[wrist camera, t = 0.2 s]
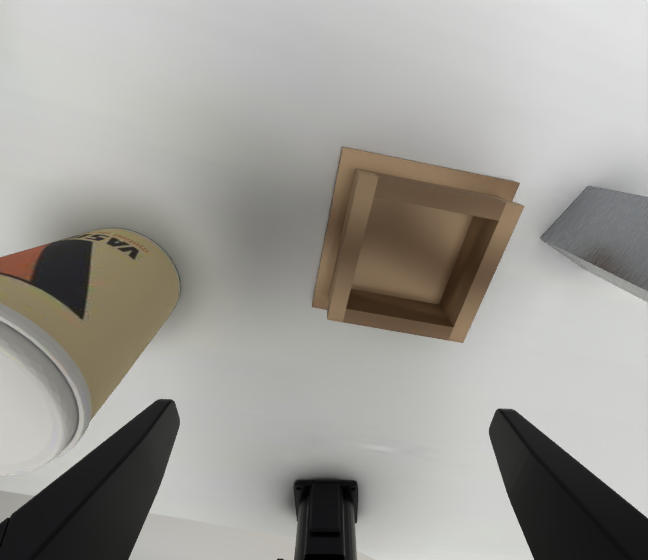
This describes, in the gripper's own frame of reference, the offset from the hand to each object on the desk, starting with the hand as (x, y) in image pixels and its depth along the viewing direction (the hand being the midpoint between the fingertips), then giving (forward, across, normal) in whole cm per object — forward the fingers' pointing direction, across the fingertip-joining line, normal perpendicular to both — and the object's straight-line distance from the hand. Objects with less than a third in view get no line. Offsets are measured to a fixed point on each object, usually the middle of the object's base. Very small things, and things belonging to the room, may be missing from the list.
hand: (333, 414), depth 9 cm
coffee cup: (+14, +15, +3) cm, 21 cm away
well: (+14, -5, 0) cm, 15 cm away
